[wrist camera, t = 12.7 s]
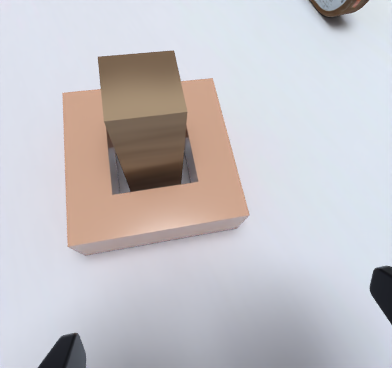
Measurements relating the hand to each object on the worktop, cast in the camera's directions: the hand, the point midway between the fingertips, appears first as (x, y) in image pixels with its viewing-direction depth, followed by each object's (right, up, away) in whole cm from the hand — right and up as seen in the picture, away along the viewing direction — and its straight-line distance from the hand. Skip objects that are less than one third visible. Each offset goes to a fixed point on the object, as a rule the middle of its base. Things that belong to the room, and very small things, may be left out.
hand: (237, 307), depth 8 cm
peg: (-5, +5, +16) cm, 17 cm away
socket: (-5, +5, +16) cm, 17 cm away
